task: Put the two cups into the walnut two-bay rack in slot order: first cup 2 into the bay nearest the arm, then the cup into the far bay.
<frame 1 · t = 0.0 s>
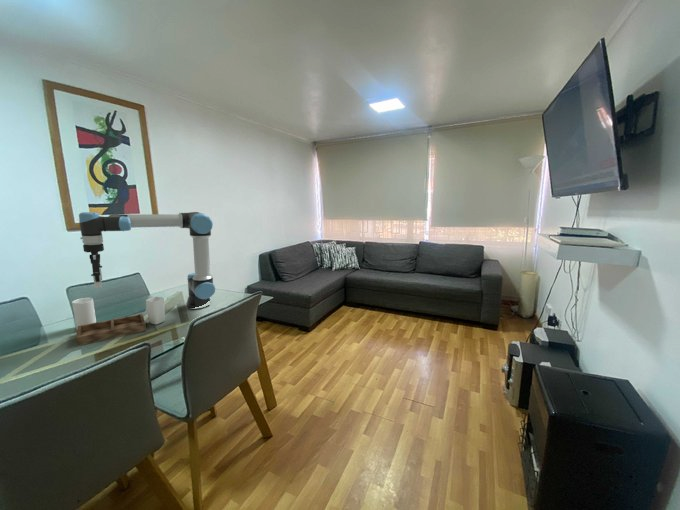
hand: (98, 283, 138), 28 cm above the table, fingers open, 13 cm apart
rack: (113, 332, 145), on the table
cup: (86, 327, 149), on the table
cup 2: (157, 322, 158), on the table
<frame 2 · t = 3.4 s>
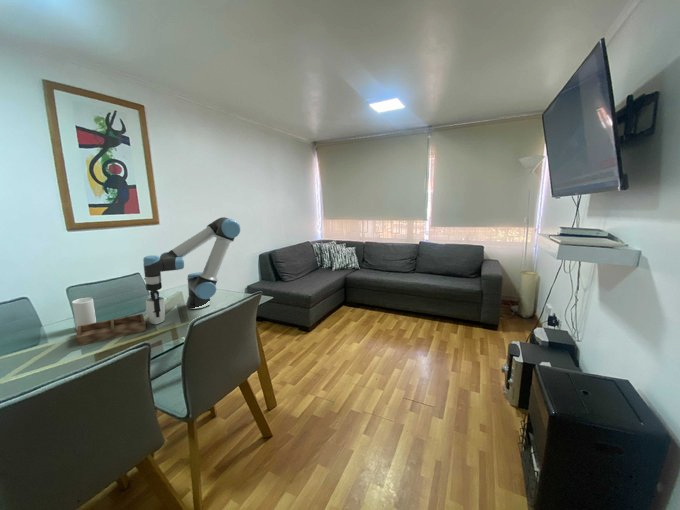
hand: (156, 318, 158), 2 cm above the table, fingers closed on cup 2, 9 cm apart
cup 2: (157, 322, 158), on the table, touching gripper
everything else where it was.
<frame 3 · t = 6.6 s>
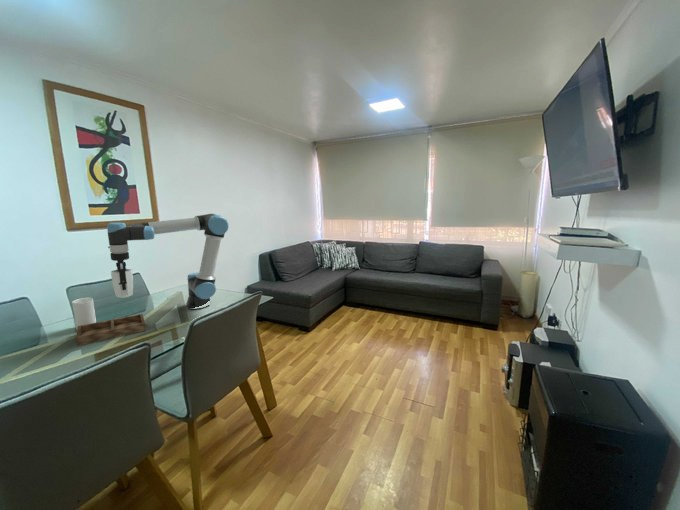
hand: (124, 292, 145), 22 cm above the table, fingers closed on cup 2, 9 cm apart
cup 2: (124, 297, 146), point 19 cm above the table, touching gripper
everything else where it was.
when the fingers open (5 cm above the table, at t = 9.8 s): cup 2 drops 2 cm, resting on rack.
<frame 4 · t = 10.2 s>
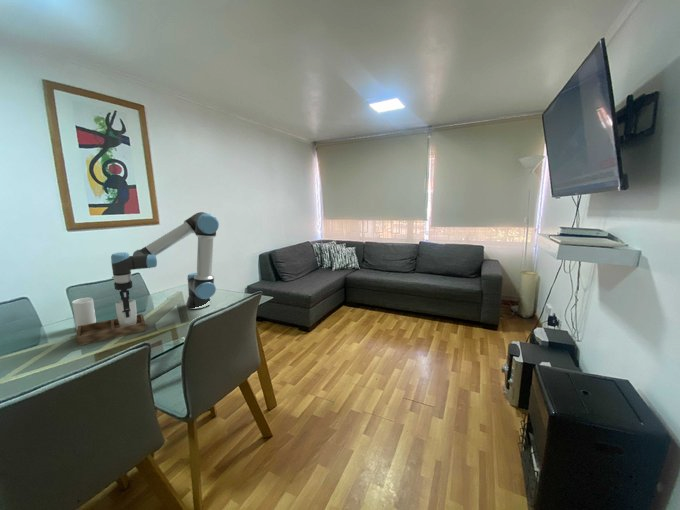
hand: (127, 317, 148), 7 cm above the table, fingers open, 13 cm apart
cup 2: (128, 326, 150), point 1 cm above the table, touching rack
everything else where it was.
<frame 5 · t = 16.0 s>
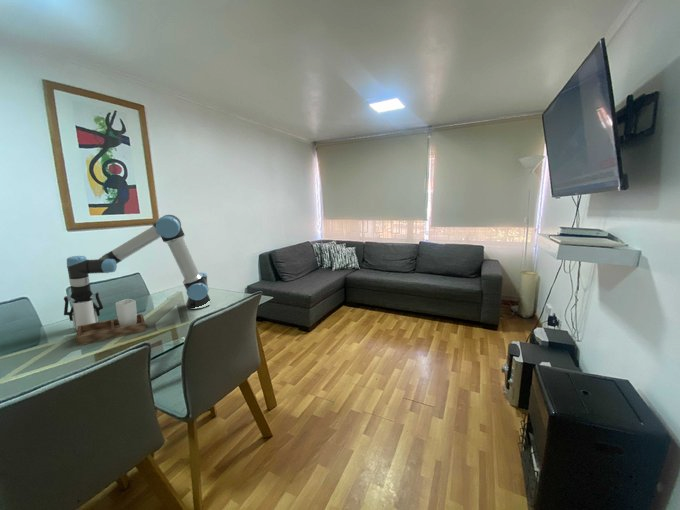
hand: (86, 323, 148), 2 cm above the table, fingers closed on cup, 8 cm apart
cup: (86, 327, 149), on the table, touching gripper
everything else where it was.
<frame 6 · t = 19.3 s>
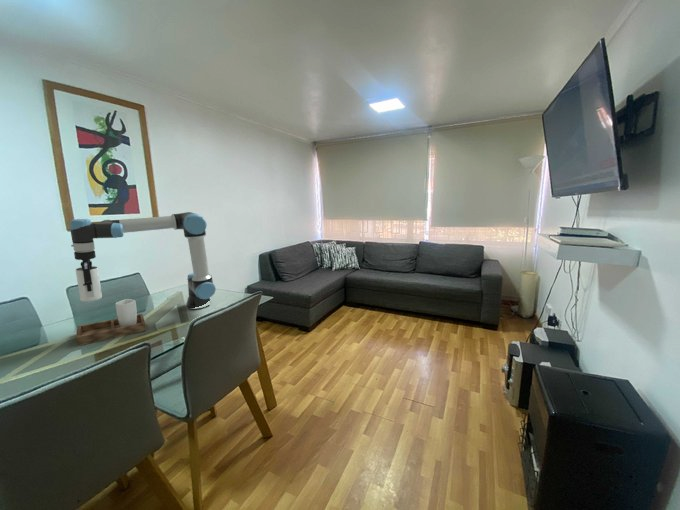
hand: (90, 294, 136), 23 cm above the table, fingers closed on cup, 8 cm apart
cup: (91, 298, 137), point 21 cm above the table, touching gripper
everything else where it was.
when the fingers open (5 cm above the table, at t = 22.8 s): cup drops 2 cm, resting on rack.
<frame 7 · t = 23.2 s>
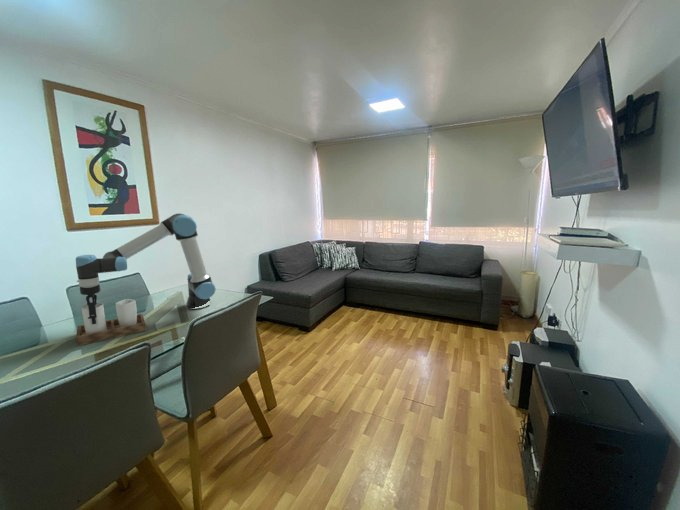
hand: (95, 324, 140), 7 cm above the table, fingers open, 13 cm apart
cup: (96, 334, 141), point 1 cm above the table, touching rack
everything else where it was.
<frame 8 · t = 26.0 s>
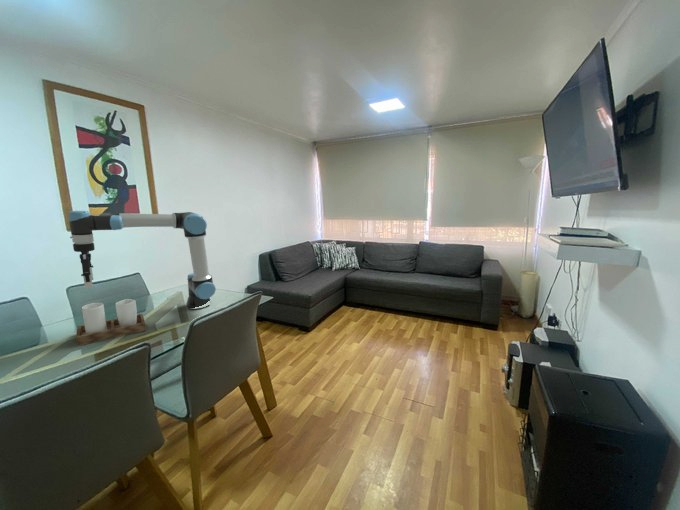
hand: (89, 284, 135), 29 cm above the table, fingers open, 13 cm apart
nothing on the table moved.
at the end: cup 2 inside the target area on the rack (0.8 cm from its centre), point 0.8 cm above the rack's base; cup inside the target area on the rack (0.2 cm from its centre), point 0.8 cm above the rack's base; cup 2 tilted 0° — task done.
